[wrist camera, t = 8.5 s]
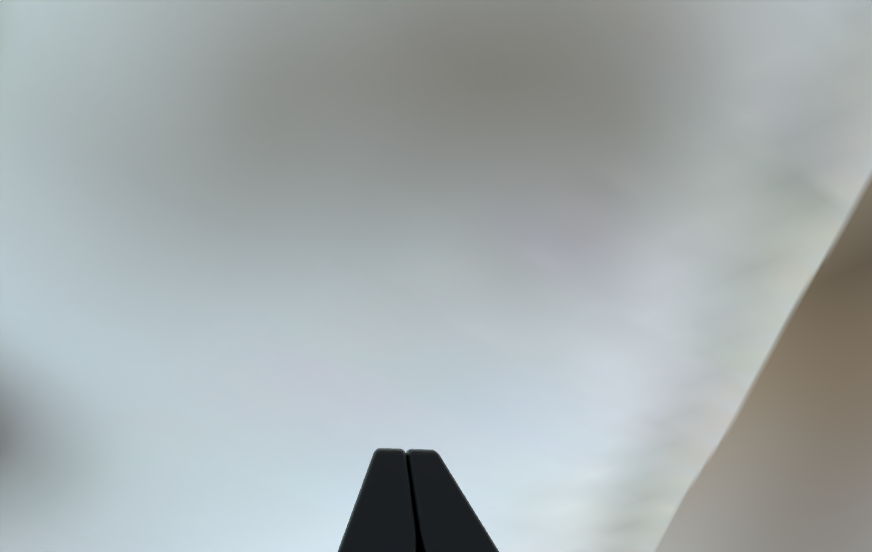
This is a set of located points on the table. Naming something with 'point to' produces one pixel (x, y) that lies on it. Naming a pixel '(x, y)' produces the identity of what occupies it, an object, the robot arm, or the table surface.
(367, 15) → the table surface
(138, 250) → the table surface
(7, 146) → the table surface
